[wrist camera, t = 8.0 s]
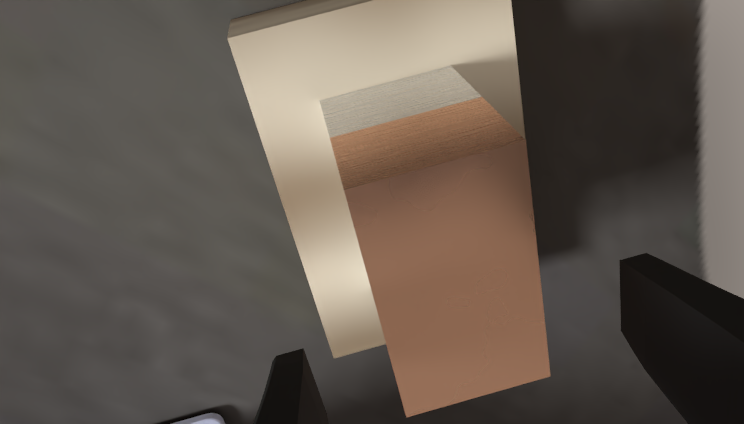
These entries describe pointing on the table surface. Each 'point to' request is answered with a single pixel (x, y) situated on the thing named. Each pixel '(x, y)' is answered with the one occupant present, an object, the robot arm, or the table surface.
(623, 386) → the table surface
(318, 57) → the stand
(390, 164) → the block
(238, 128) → the table surface
